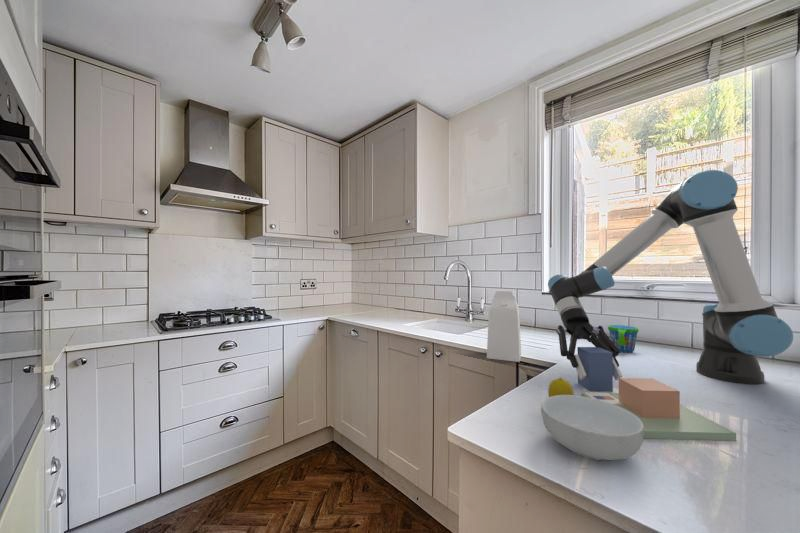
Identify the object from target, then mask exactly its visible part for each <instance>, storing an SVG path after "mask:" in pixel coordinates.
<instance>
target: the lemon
mask: <svg viewBox="0 0 800 533" xmlns="http://www.w3.org/2000/svg"><path fill="white" fill-rule="evenodd" d="M557 395H575V392H574V390H573V387H572V385H571V384H570V382H568V381H567V380H565V379H564V378H563V377H558V378H555V379H553V380H552V381H551V382H550V383H549V385H548V397H551V396H557Z"/></svg>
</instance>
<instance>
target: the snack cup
mask: <svg viewBox="0 0 800 533" xmlns="http://www.w3.org/2000/svg"><path fill="white" fill-rule="evenodd" d="M607 329H608V331H609V338H610V340H611V341H612V342H613V343H614V345H615V346H616V347H617V348H618V350H619V351H621V352H620V353H634V351H635V350H636V349H635V348H636V342H637V337H638V333H639V328H638V327H637V326H631V325H621V324H609V325H607Z"/></svg>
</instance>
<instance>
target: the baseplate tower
mask: <svg viewBox="0 0 800 533" xmlns="http://www.w3.org/2000/svg"><path fill="white" fill-rule="evenodd" d="M580 394H581V395H580V396H583V397H589V398H593V399H598V400H601V401H605V402H608V403H611V404H614V405H616V406H619V407H621V408H623V409H625V410H627V411H629V412H631V413H632V414H634V415H635V416H637V417H638V418H639V419H640V420H641V421H642V423H643V426H644V435H643V439H656V440H657V439H659V440H696V441H698V440H699V441H701V440H702V441H703V440H704V441H733V442H734V441H737V432H735V431H733V430H731V429H729V428H727V427H726V426H723V425H721V424H719V423H718V422H715V421H713V420H712V419H710V418H708V417H705V416H703V415H701V414H699V413H697V412H696V411H693V410H691V409H689V408H688V407H685V406H684V405H682V404H681V403H680V402H681V401H680V398H681V397H680V395H681V394H680V390H679V389H678V390H677V389H676V388H674V387H672V386H670V385H667V384H665V383H663V382H661V381H659V380H657V379H655V378H653V377H651V378H648V377H647V378H646V377H645V378H644V377H641V378H639V377H638V378H637V377H621V378H619V380H618V392H597V391H585V392H584V391H582V392H580Z"/></svg>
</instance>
